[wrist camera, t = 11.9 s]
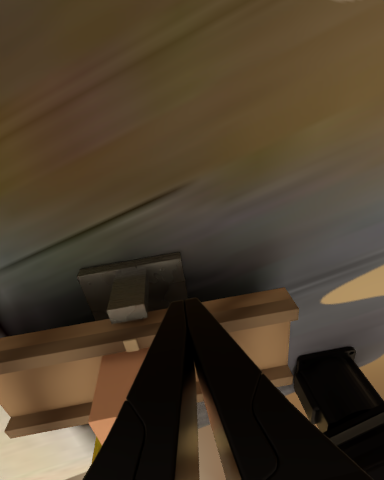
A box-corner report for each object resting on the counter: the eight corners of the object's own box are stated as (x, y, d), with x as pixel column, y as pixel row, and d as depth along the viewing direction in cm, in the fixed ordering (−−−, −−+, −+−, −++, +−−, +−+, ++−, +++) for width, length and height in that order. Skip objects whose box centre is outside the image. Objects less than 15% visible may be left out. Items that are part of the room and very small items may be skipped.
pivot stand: (179, 251, 21) (186, 291, 17) (197, 351, 27) (205, 400, 23) (80, 269, 21) (60, 314, 17) (119, 366, 27) (112, 418, 22)
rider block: (174, 339, 19) (178, 404, 15) (182, 375, 20) (188, 441, 17) (103, 352, 18) (88, 422, 14) (118, 387, 20) (108, 457, 16)
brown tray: (284, 287, 19) (299, 309, 17) (280, 359, 23) (292, 385, 21) (-27, 342, 18) (-51, 373, 16) (23, 408, 22) (9, 439, 20)
